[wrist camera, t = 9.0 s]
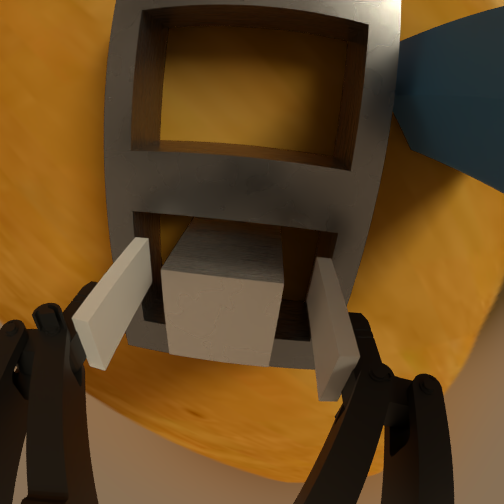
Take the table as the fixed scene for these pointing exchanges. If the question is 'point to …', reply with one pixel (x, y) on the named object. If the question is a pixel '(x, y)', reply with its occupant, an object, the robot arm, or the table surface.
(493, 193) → the table surface
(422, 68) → the water bottle
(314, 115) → the table surface
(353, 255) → the grey compartment tray
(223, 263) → the brushed gray brick
